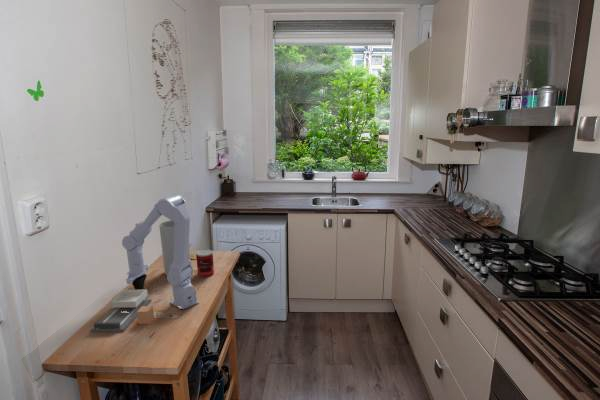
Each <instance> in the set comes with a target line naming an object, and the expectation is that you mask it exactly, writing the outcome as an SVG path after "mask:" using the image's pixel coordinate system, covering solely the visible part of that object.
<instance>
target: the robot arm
mask: <svg viewBox="0 0 600 400" xmlns="http://www.w3.org/2000/svg"><path fill="white" fill-rule="evenodd" d="M162 216H164V217H165V218H167V219H168V220H169V221H173V222H174V223H175V232H174V259H173V262H172V264H171V266H170V270H169V273H168V275H166V279H167V282H168V283H169V284H170V285H171V287H172V295H173V296H172V297H173V300H170V301H169V303H170V304H171V305H173V306H174V305H175V306H174V307H176V306H181V307H182V309H183V310H185V309H187V308H191V307H192V306H194V305H198V304H199V302H200V301H199V300H197V290H196V288H195V286H194V285H193V284H192V283H191V282H192V281H191V279H192V275H193V274H194V269H193V265H192V260H191V261H190V260H189V259H188V247H189V246H190V222H191V217H190V214H189V212H188V208H187V200H185V199H184V198H183V196H181V195H180V194H173V195H171V196H168V197H166V198H161V199H160V200H158V201H157V203H155V204H154V207H152V210H151V211H150V212H149V213H148V215H147V217H145V219H144V220H140V221H138V222H136V223H135V227H134V228H133V229H131V230H130V231H129V235H125V236H123V238H122V240H121V244H122V247H123V248H124V249H125V250H126V256H127V262H128V269H129V271H128V272H127V273H126V275H128V276H127V278H126V279H125V281H126V285H130V284H131V285H132V286H133V288H134V290H145V288H144V287H145V283H146V279H147V274H146V272H147V271H148V270H149V266H148V265H147V264H146V265H145V262H144V254H143V248H144V247H143V244H144V243H145V239H146V238H147V237H148V236H149V234H150V233H151V232H152V229H153V227H152V226H153V225H154V224H155V223H157V221H158V219H160V218H161V217H162Z"/></svg>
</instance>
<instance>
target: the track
mask: <svg viewBox="0 0 600 400" xmlns="http://www.w3.org/2000/svg"><path fill="white" fill-rule="evenodd" d="M151 302H152V300H151V298H150V299H149V298H148V299H147V298H145V299H144V300H143V301H142V302H141V303H140V304H139V305H138V306H137V307H136V308H135V309H133V307H119V308H118V309H116V308H112V309H111V310H109V311H108V312H107V313H106V314H105V315H104V316H103V317H102V318H100V320H99V321H97V322H94V323H93V326H92V327H91V328H90V332H93V333H95V332H97V333H98V332H100V333H101V332H103V333H104V332H106V333H108V332H109V333H110V332H115V333H117V332H118V333H119V332H120V333H121V332H125V331H126V330H127V329H128V328H129V326H130V325H131V324H132V323H133V322H134V321H135V319H136V318H137V319H138V315H137V311H138V310H139V309H140V308H141V307H142V306H149V304H150V303H151ZM121 311H122V312H123V311H127V312H129V313H121Z"/></svg>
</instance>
